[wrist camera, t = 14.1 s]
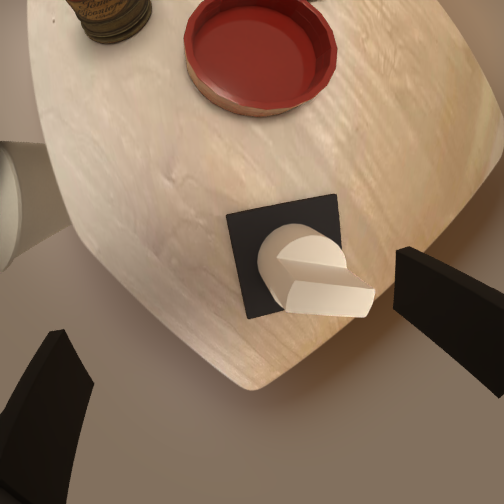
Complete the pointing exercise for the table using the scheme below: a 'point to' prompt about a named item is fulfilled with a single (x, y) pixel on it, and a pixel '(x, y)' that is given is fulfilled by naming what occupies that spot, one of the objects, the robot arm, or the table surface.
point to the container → (111, 18)
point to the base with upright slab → (311, 274)
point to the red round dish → (259, 54)
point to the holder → (259, 227)
